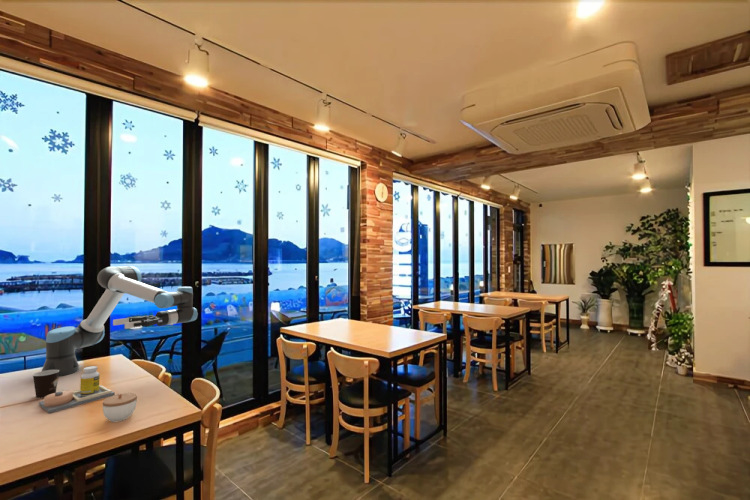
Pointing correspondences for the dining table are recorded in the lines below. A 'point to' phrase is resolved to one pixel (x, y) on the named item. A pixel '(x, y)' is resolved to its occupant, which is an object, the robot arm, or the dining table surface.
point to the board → (73, 403)
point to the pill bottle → (89, 381)
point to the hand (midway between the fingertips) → (118, 324)
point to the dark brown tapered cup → (45, 382)
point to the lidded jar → (119, 406)
